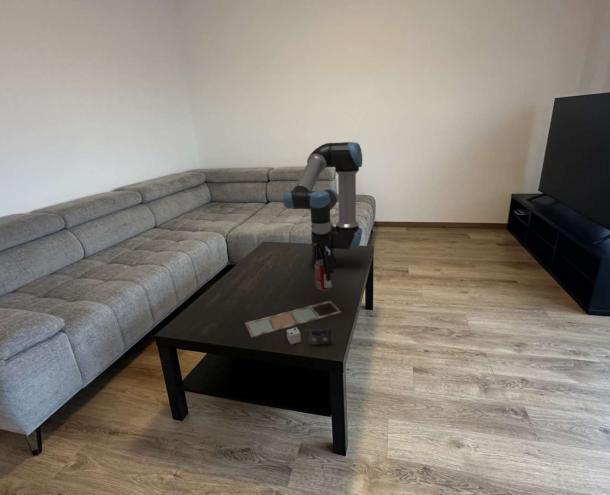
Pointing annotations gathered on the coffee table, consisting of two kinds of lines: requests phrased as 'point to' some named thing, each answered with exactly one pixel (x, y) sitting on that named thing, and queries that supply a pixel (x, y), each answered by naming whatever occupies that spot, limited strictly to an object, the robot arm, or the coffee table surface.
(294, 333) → the die
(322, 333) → the mini dv tape
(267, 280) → the coffee table surface
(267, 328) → the frame
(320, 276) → the soda can
